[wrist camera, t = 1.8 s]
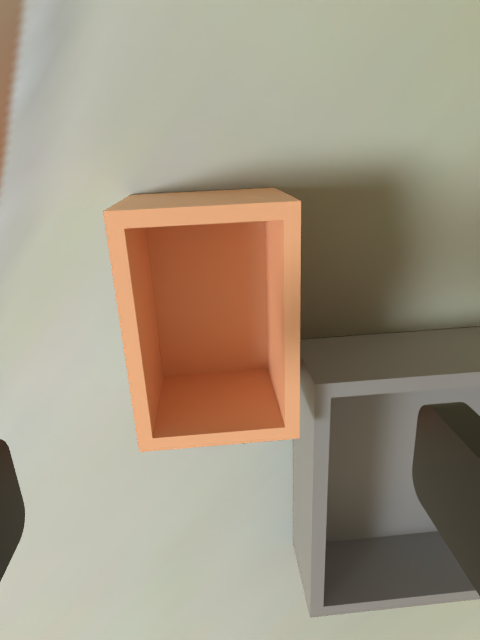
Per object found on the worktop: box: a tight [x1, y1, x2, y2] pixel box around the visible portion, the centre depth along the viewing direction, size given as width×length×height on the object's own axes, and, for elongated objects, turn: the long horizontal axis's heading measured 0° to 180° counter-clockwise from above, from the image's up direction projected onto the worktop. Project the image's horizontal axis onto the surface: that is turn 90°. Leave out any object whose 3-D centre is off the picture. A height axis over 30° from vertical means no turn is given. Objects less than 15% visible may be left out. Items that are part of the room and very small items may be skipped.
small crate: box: [103, 187, 301, 452], centre depth 16 cm, size 8×6×5 cm
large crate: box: [293, 327, 480, 617], centre depth 20 cm, size 12×14×4 cm
